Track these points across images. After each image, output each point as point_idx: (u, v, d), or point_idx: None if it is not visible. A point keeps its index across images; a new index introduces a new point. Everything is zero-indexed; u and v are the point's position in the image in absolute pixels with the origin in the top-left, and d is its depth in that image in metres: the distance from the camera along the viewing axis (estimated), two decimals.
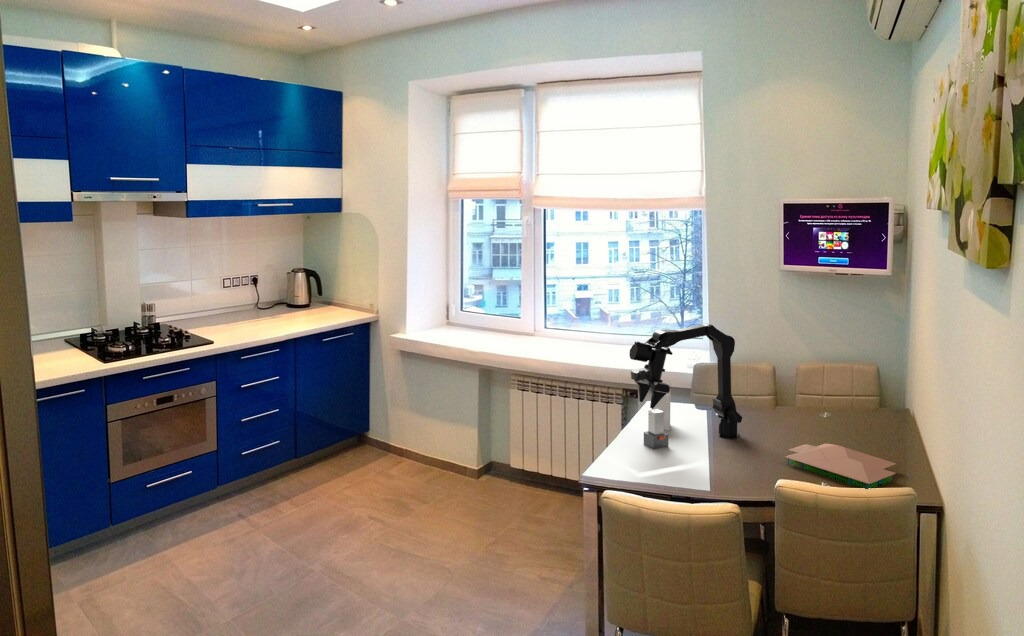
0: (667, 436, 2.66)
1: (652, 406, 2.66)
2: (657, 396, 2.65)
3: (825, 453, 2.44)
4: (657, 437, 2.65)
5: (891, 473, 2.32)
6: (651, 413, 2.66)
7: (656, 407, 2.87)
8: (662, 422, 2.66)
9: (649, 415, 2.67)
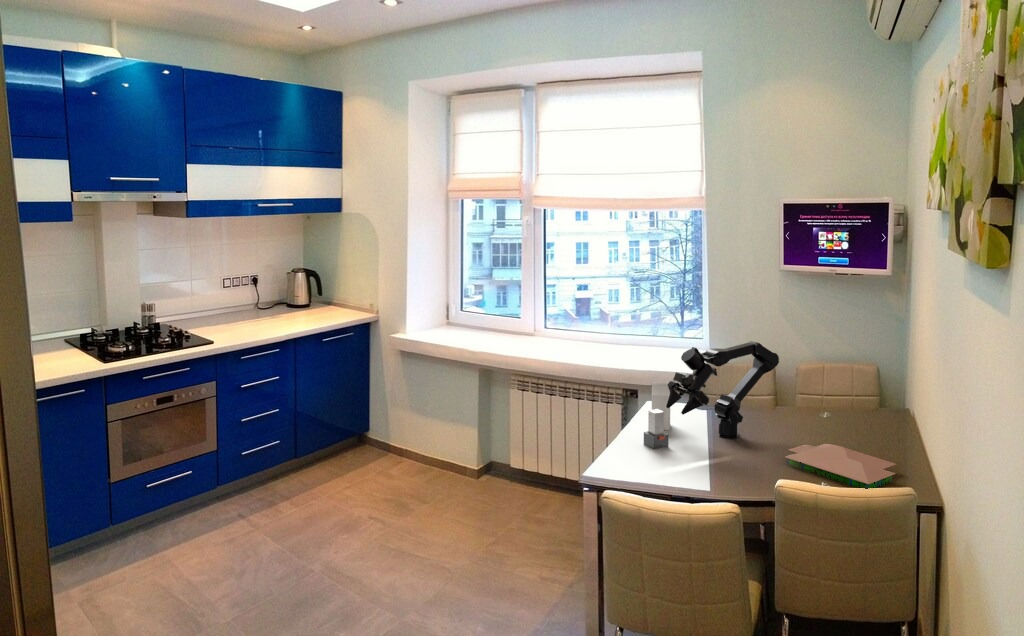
0: (667, 436, 2.66)
1: (683, 412, 2.66)
2: (692, 405, 2.66)
3: (825, 453, 2.44)
4: (657, 437, 2.65)
5: (891, 473, 2.32)
6: (651, 413, 2.66)
7: (656, 407, 2.87)
8: (662, 422, 2.66)
9: (649, 415, 2.67)
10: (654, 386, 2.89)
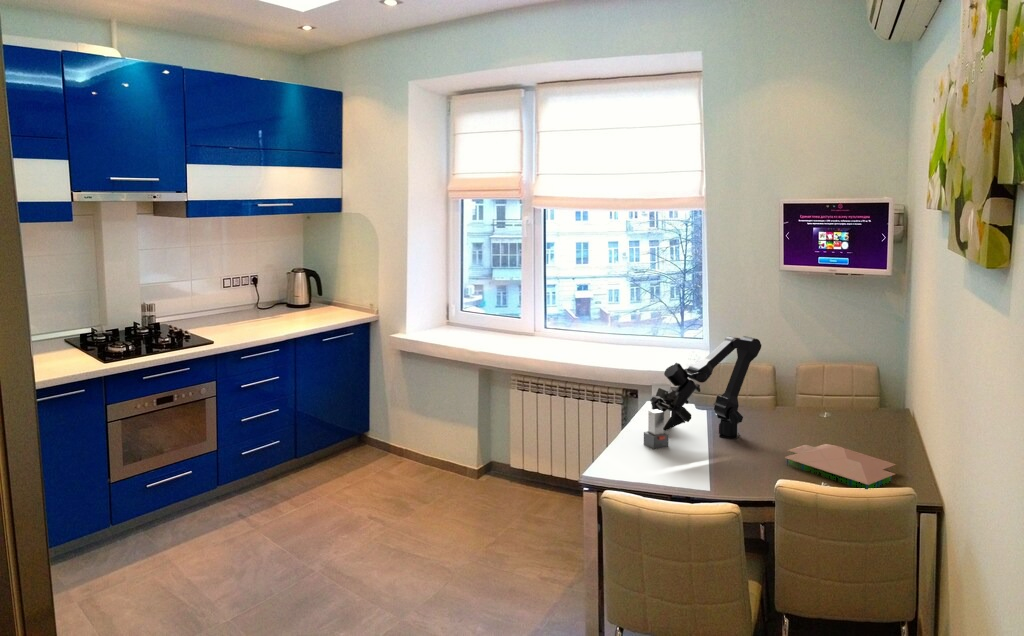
0: (667, 436, 2.66)
1: (665, 428, 2.63)
2: (674, 421, 2.64)
3: (824, 454, 2.43)
4: (657, 437, 2.65)
5: (890, 473, 2.32)
6: (651, 413, 2.66)
7: None
8: (662, 422, 2.66)
9: (649, 415, 2.67)
10: (654, 386, 2.89)
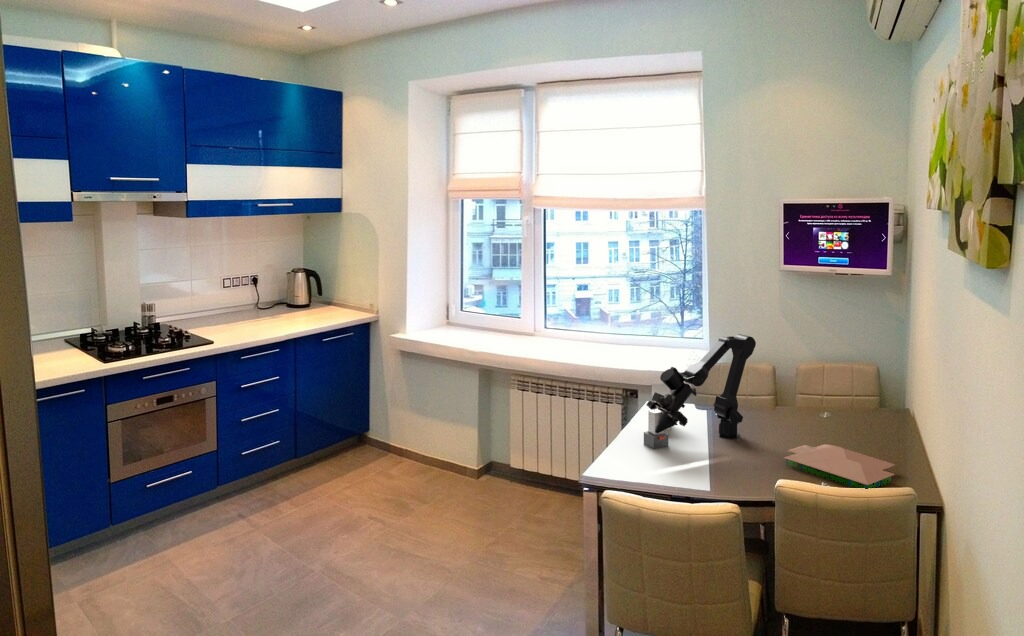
0: (667, 436, 2.66)
1: (658, 431, 2.65)
2: (667, 423, 2.65)
3: (824, 454, 2.43)
4: (657, 437, 2.65)
5: (890, 474, 2.31)
6: (651, 413, 2.66)
7: None
8: None
9: (649, 415, 2.67)
10: (654, 386, 2.89)
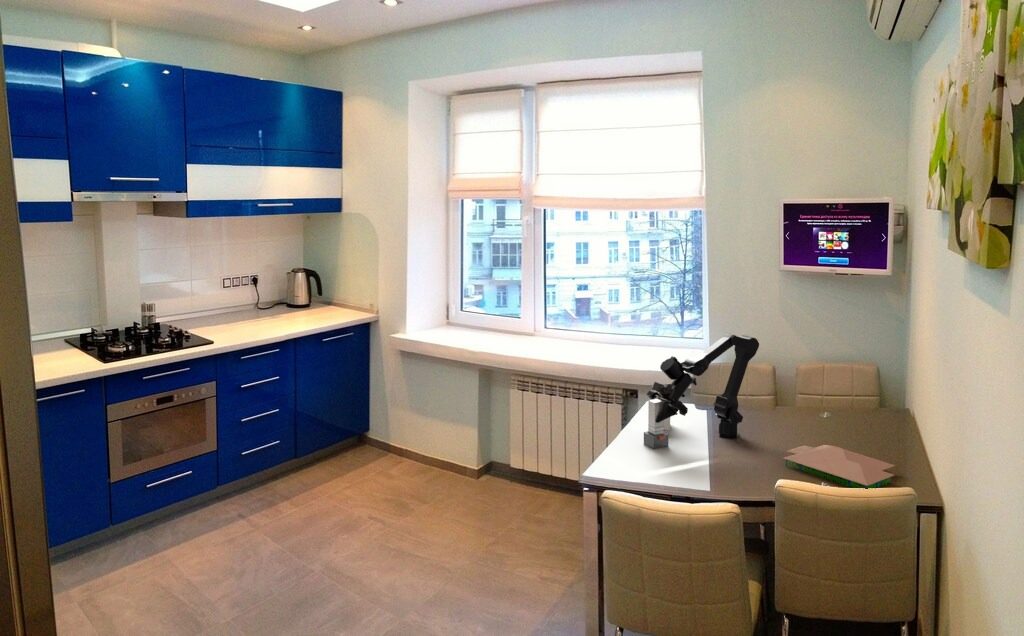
0: (667, 436, 2.66)
1: (658, 420, 2.65)
2: (667, 413, 2.65)
3: (823, 454, 2.43)
4: (657, 437, 2.65)
5: (890, 474, 2.31)
6: (651, 403, 2.66)
7: None
8: None
9: (649, 405, 2.67)
10: None
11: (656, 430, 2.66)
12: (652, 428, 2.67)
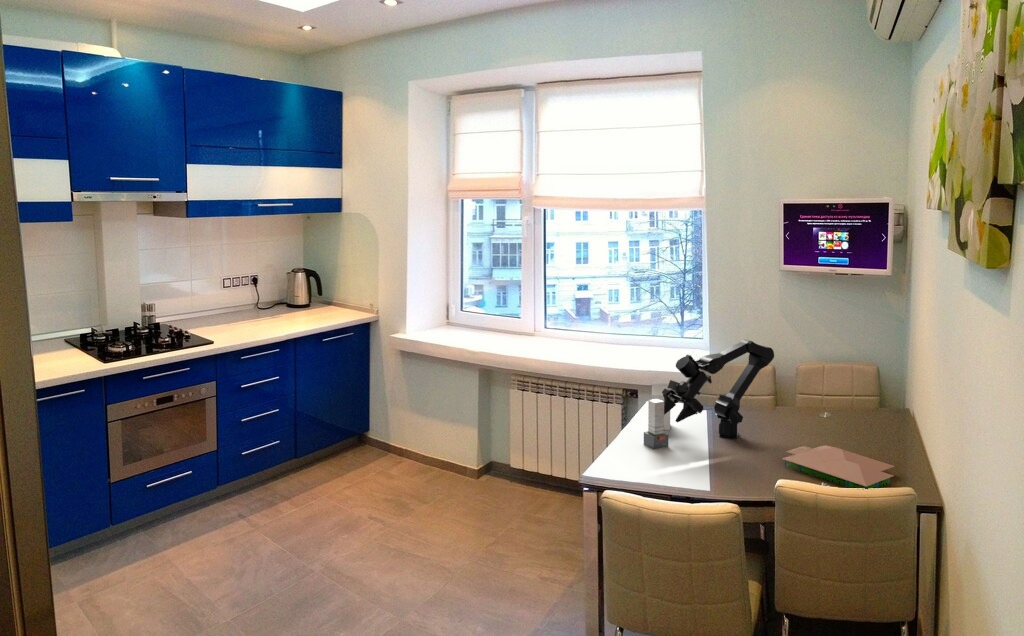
0: (667, 436, 2.66)
1: (678, 420, 2.65)
2: (687, 412, 2.65)
3: (822, 455, 2.42)
4: (657, 437, 2.65)
5: (889, 475, 2.30)
6: (651, 403, 2.66)
7: None
8: (662, 412, 2.66)
9: (649, 405, 2.67)
10: (654, 386, 2.89)
11: (656, 430, 2.66)
12: (652, 428, 2.67)
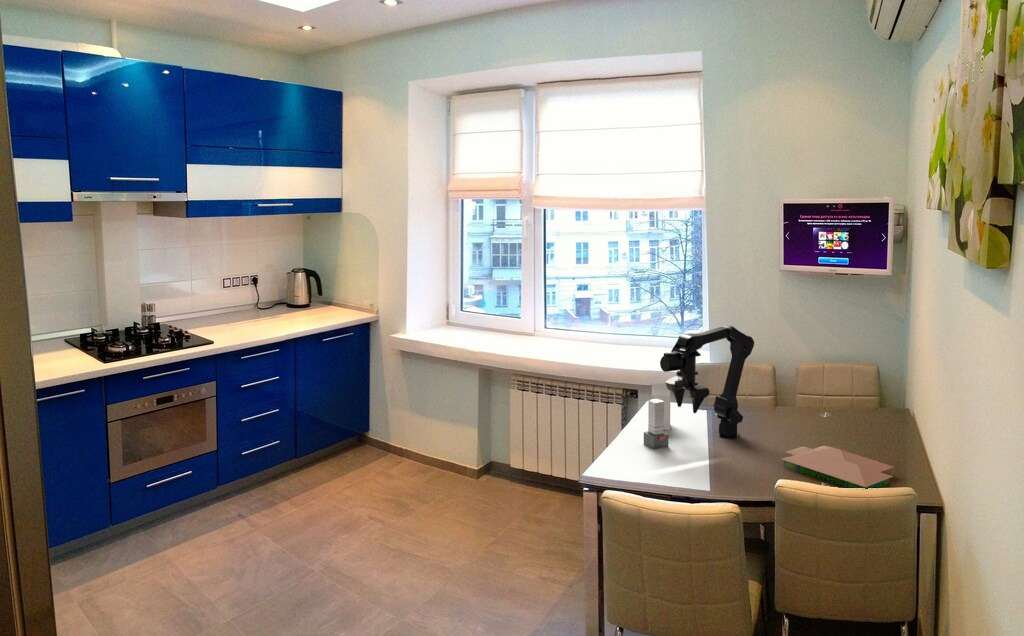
0: (667, 436, 2.66)
1: (695, 411, 2.67)
2: (698, 400, 2.66)
3: (822, 456, 2.42)
4: (657, 437, 2.65)
5: (888, 476, 2.30)
6: (651, 403, 2.66)
7: None
8: (662, 412, 2.66)
9: (649, 405, 2.67)
10: (654, 386, 2.89)
11: (656, 430, 2.66)
12: (652, 428, 2.67)
